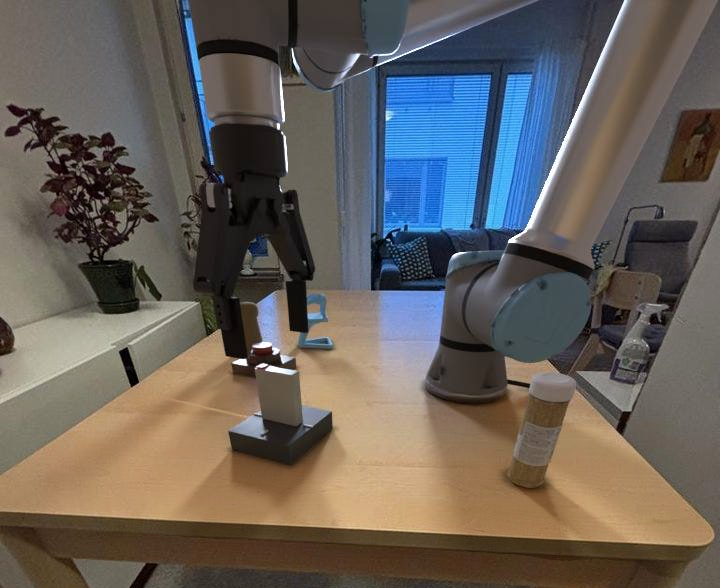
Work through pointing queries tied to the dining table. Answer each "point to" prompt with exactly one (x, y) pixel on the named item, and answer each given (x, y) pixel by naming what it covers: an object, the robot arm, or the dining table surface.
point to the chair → (315, 319)
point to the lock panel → (281, 435)
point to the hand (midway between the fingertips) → (271, 343)
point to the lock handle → (279, 394)
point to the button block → (262, 362)
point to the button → (262, 348)
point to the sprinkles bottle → (540, 427)
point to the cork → (250, 324)
